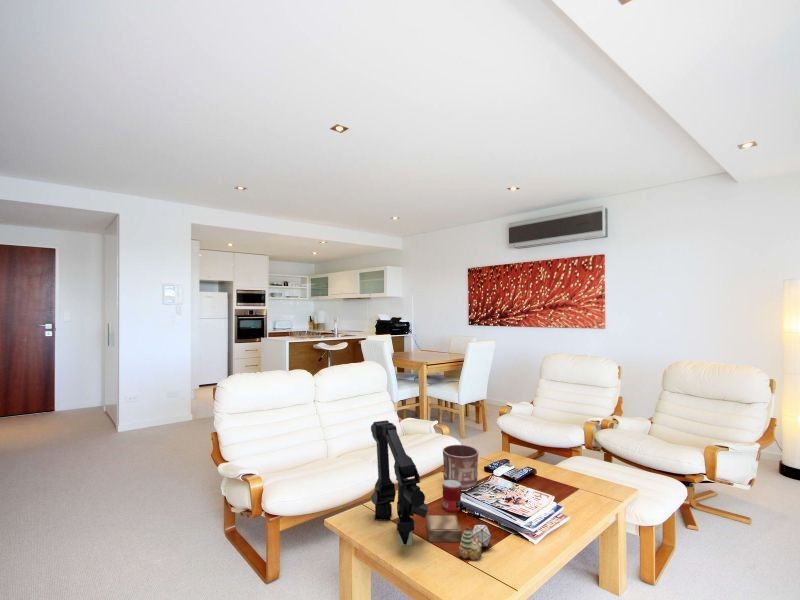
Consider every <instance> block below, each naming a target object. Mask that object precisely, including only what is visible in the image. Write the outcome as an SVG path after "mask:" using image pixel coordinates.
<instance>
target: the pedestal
mask: <svg viewBox="0 0 800 600" xmlns="http://www.w3.org/2000/svg"><path fill="white" fill-rule="evenodd" d="M426 531H427V537H428V538H427V539H428V542H434V543H437V542H438V543H441V542H443V543H444V542H445V543H447V542H448V543H449V542H450V543H452V542H455V543H461V541H462V540H461V538H462V536H461V535H462V533H461V531H462V530H461V527H460V524H459V520H458V517H457V515H432V514H431V515H428V514H426Z"/></svg>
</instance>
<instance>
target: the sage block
mask: <svg viewBox="0 0 800 600" xmlns="http://www.w3.org/2000/svg"><path fill="white" fill-rule="evenodd" d="M397 533H398V534H397V535H398V536H397V537H398V538H397V539H398V540H397V541H398V544H397V545H398V546H412V545H413V531H411V532H410V533H409V537H408V541H407V544H406V545H404V544H403V541H402V539H401V537H400V534H399V532H398V531H397Z"/></svg>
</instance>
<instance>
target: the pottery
mask: <svg viewBox="0 0 800 600" xmlns="http://www.w3.org/2000/svg"><path fill="white" fill-rule="evenodd" d="M442 459H443V461H442V462H443V469H442V470H443V474H442V475H443V482H444V481H445V480H456V481H458V482H460V483H461V490H465V489H469V488H472V487H473V488H475V487H476V484H477V483H478V476H479V475H478V474H479V473H478V467H479V466H478V464H479V463H478V462H479V451H478V449H476V448H474V447H472V446H470V445H466V444H465V445H464V444H452V445H448V446H445V447H443V449H442ZM474 486H475V487H474ZM473 488H472V489H473Z"/></svg>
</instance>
